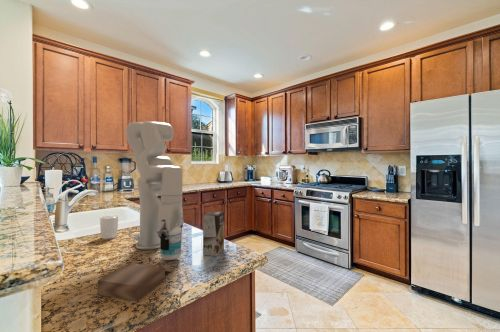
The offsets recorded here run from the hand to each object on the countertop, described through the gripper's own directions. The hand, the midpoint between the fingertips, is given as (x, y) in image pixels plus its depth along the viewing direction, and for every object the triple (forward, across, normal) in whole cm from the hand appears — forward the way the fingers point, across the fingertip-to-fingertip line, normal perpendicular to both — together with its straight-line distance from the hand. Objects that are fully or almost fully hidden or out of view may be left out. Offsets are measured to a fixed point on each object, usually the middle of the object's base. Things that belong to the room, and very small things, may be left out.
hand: (171, 245), depth 90 cm
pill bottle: (+4, 0, 0) cm, 4 cm away
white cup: (+7, -18, -46) cm, 50 cm away
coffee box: (+6, -13, +12) cm, 18 cm away
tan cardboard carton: (+6, +16, +1) cm, 18 cm away
